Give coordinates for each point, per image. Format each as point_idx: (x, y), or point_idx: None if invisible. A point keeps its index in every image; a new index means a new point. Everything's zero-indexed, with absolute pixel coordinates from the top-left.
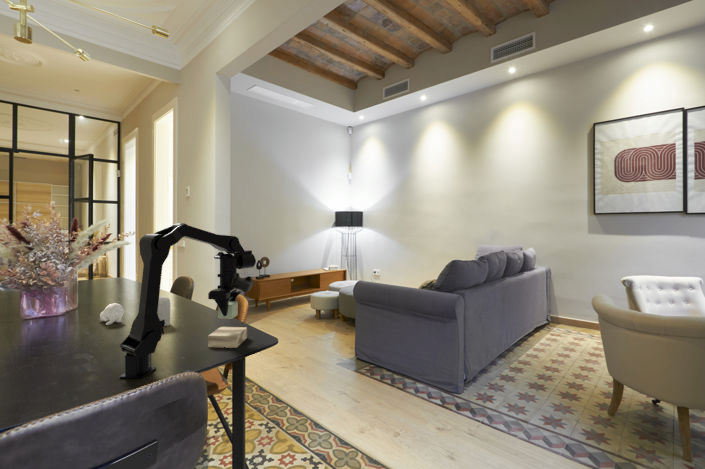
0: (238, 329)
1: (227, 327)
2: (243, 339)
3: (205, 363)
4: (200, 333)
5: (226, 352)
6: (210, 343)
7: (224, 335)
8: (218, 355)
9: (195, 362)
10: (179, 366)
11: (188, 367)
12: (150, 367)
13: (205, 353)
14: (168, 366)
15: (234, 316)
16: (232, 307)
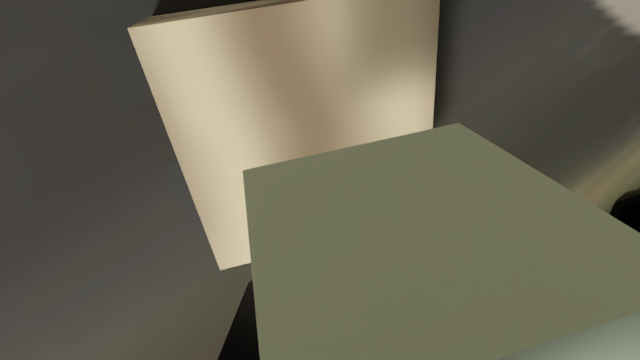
0: (238, 85)
1: (218, 216)
2: (242, 3)
3: (613, 40)
4: (203, 343)
5: (473, 10)
6: None
7: (420, 112)
8: (517, 35)
9: (587, 101)
10: (613, 140)
11: (636, 94)
12: (621, 220)
13: (481, 130)
14: (601, 180)
15: (378, 146)
16: (611, 230)
